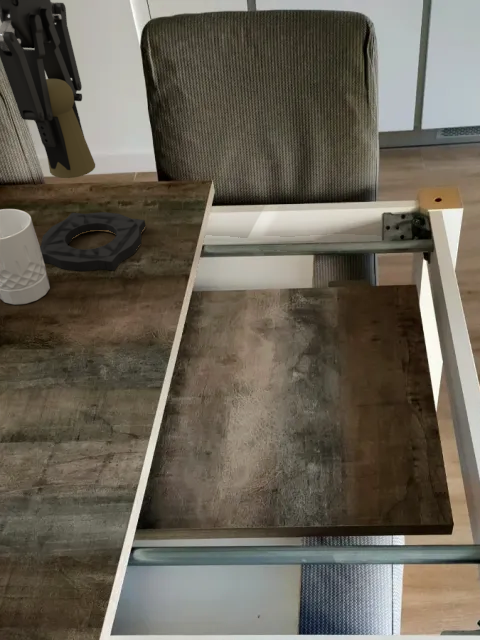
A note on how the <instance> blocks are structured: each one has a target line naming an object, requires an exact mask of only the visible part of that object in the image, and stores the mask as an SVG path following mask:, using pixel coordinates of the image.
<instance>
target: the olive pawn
mask: <svg viewBox="0 0 480 640" xmlns="http://www.w3.org/2000/svg"><path fill="white" fill-rule="evenodd" d="M46 81H47V87H48V92H49V97H50V103H51V108H52V114H53V117H58V119H59V123H60V126H61V130H62V133H63V136H64V140H65V145H66V150H67V155H68V159H69V164H70V169H71V170H67V169H66V168H65V167H64V166H63V165H61V164H60V163H59V162H58V163H57V166H56V169H52V168H51V166H50V163H49V160H48V157H47V156H46V159H47V163H48V169H49V173H50V174H51V175H52V176H53V177H55V178H60V179H74V178H75V179H76V178H79V177H83V176H85V175H88V174H90V173H91V172H93V171H94V170H95V168H96V162H95V160H94V158H93V155H92V153H91V150H90V147H89V145H88V143H87V140H86V138H85V134H84V132H83V133H82V130H83V129H82V130H81V128H80V125H79V123H78V120H77V118H76V116H75V113H74V111H73V108H72V107H73V104H74V95H73V91H72V89H71V87H70V86H69V85H68V84H67V83H66V82H65V81H63V80H60V79H48V78H46ZM42 110H43V109H42ZM83 134H84V135H83Z"/></svg>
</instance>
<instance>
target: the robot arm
mask: <svg viewBox="0 0 480 640" xmlns="http://www.w3.org/2000/svg"><path fill="white" fill-rule="evenodd" d="M66 8H67V7H66V5H65V3H64V2H54V1H52V0H0V23H1V25H0V61H1V64H2V67H3V69H4V72H5V75H6V78H7V81H8V84H9V87H10V90H11V92H12V95H13V98H14V101H15V104H16V106H17V108H18V112H19V115H20V117H21V119H22V120H23V121H34V122H35V125H36V127H37V131H38V134H39V137H40V141H41V143H42V145H43V147H44V150H45V154H46V158H47V157H48V158H47V161H48V160H49V163H50V166H51V168H52V169H56V166H57V163H58V162H59V163H60V164H61V165H63V166H64V167H65V168H66V169H67V170H71V169H70V164H69V159H68V155H67V150H66V145H65V140H64V136H63V133H62V130H61V126H60V123H59V119H58V117H53V114H52V108H51V103H50V97H49V92H48V87H47V81H46V79H60V80H63V81H65V82H66V83H67V84H68V85H69V86H70V87H71V89H72V91H73V95H74V104H73V107H72V108H73V111H74V113H75V116H76V118H77V120H78V123H79V125H80V128H81V130H82V133H83V135H84V136H85V134H84V130H83V128H82V127H83V126H82V122H81V118H80V115H79V111H78V107H77V104H76V102H82V100H83V93H77V92H80V91H81V90H82V88H83V86H82V81H81V77H80V73H79V69H78V64H77V61H76V57H75V56H76V55H75V51H74V49H73V45H72V40H71V35H70V31H69V27H68V20H67V19H68V18H67V9H66ZM42 109H43V110H42Z"/></svg>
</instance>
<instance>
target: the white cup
mask: <svg viewBox="0 0 480 640" xmlns="http://www.w3.org/2000/svg"><path fill="white" fill-rule="evenodd" d="M37 236H38V235H37V233H36V230H35V226H34V223H33V220H32V217H31V215H30V214H29V213H28V212H26V211H24V210H21V209H18V208H17V209H15V208H3V209H2V208H1V209H0V300H1V301H2V302H3V303H6V304H9V305H14V306H15V305H16V306H17V305H26V304H30V303H33V302H37V301H38V300H40V299H42V298H43V297H44V296H46V295H47V293H48V292H49V291H50V289H51V286H50V279H49V277H48V274H47V273H48V272H47V270H46V269H47V268H46V267H47V266H46V263H44V261H43V256H42V253H41V249H40V246H41V245H40V243H39V240H38V237H37Z"/></svg>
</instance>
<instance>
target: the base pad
mask: <svg viewBox="0 0 480 640" xmlns="http://www.w3.org/2000/svg"><path fill="white" fill-rule="evenodd" d="M145 226H146V227H147V225H146V220H145V219H140V218H138V219H137V218H131V217H129V216H126V215H124V214H121V213H115V212H106V211H101V212H99V211H98V212H90V213H79V212H71V213H70V214H69V215H68V216H67V217H66V218H65V219H64V220H62V221H60V222H58V223H56V224H54V225H52V226H51V227H50V228H49V229H48V230H47V231H46V232H45V233H44V234H43V236H42V238H41V239H42V240H41V243H40V244H41V245H40V249H41V253H42V256H43V261H44V264H51V265H53V266H55V267H57V268H60V269H62V270H67V271H68V270H69V271H77V272H86V271H94V270H95V271H96V270H103V271H104V270H105V271H115V270H116V269H117V268H118V266H119V265H120V264H121V263H122V262H124V261H125V260H127V259H129V258H130V257H132V256H133V255H132V254H133V253H134V252H135V251H136V249H137V248H138V246H139V245H140V244H141V245H142V235H141V232H142V230H143V229H144V227H145ZM90 230H109V231H111V232H113V233H115V234H116V235H115V237H114V238H113V239H112V240H110V242H108V243H106V244H104V245H101V246H98V247H95V248H94V247H93V248H84V249H83V248H74V247H73V246H70V243H71V242H72V241H73V240H72V238H73V237H75V236H76V235H78V234H80V233H82V232H86V231H90ZM71 240H72V241H71ZM70 241H71V242H70ZM69 242H70V243H69ZM68 244H69V245H68ZM141 245H140V246H141ZM138 249H139V248H138ZM138 249H137V250H138ZM136 252H137V251H136ZM136 252H135V253H136ZM135 253H134V254H135ZM131 255H132V256H131ZM129 256H130V257H129ZM128 257H129V258H128ZM126 258H127V259H126ZM124 259H125V260H124ZM123 260H124V261H123ZM121 261H122V262H121ZM120 262H121V263H120ZM119 263H120V264H119ZM118 264H119V265H118ZM116 267H117V268H116Z"/></svg>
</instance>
